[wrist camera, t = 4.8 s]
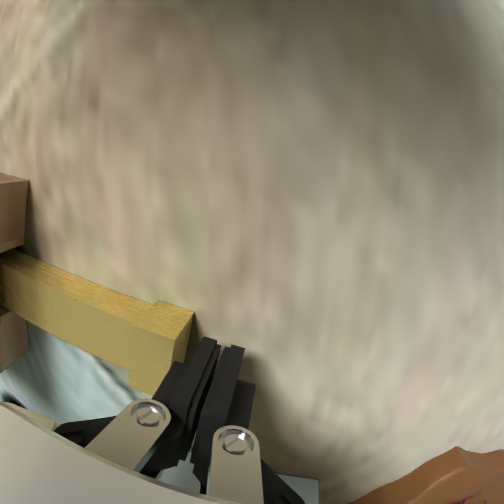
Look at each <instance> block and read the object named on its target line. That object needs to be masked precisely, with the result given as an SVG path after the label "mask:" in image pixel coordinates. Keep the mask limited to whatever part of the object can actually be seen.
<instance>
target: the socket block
mask: <svg viewBox="0 0 504 504" xmlns="http://www.w3.org/2000/svg"><path fill="white" fill-rule="evenodd" d="M28 186H29V180H26V179H22V178H18V177H14V176H10V175H6V174H2V173H0V253H1V252H4V251H7V250H9V249H12V248H15V247H18V246H21V245H24V237H25V218H26V205H27V195H28ZM29 350H30V347H29V339H28V330H27V320H25V319H24V318H22V317H20V316H19V315H17V314H15V313H14V312H12V311H10V310H9V309H7V308H6V307H4V306H2V305H1V304H0V373H1V372H2V371H3V370H4V369H6V368H7V367H8V366H10V365H11V364H12V363H13V362H15V361H16V360H17V359H19V358H20V357H21V356H23V355H24V354H25V353H26V352H28V351H29Z"/></svg>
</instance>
